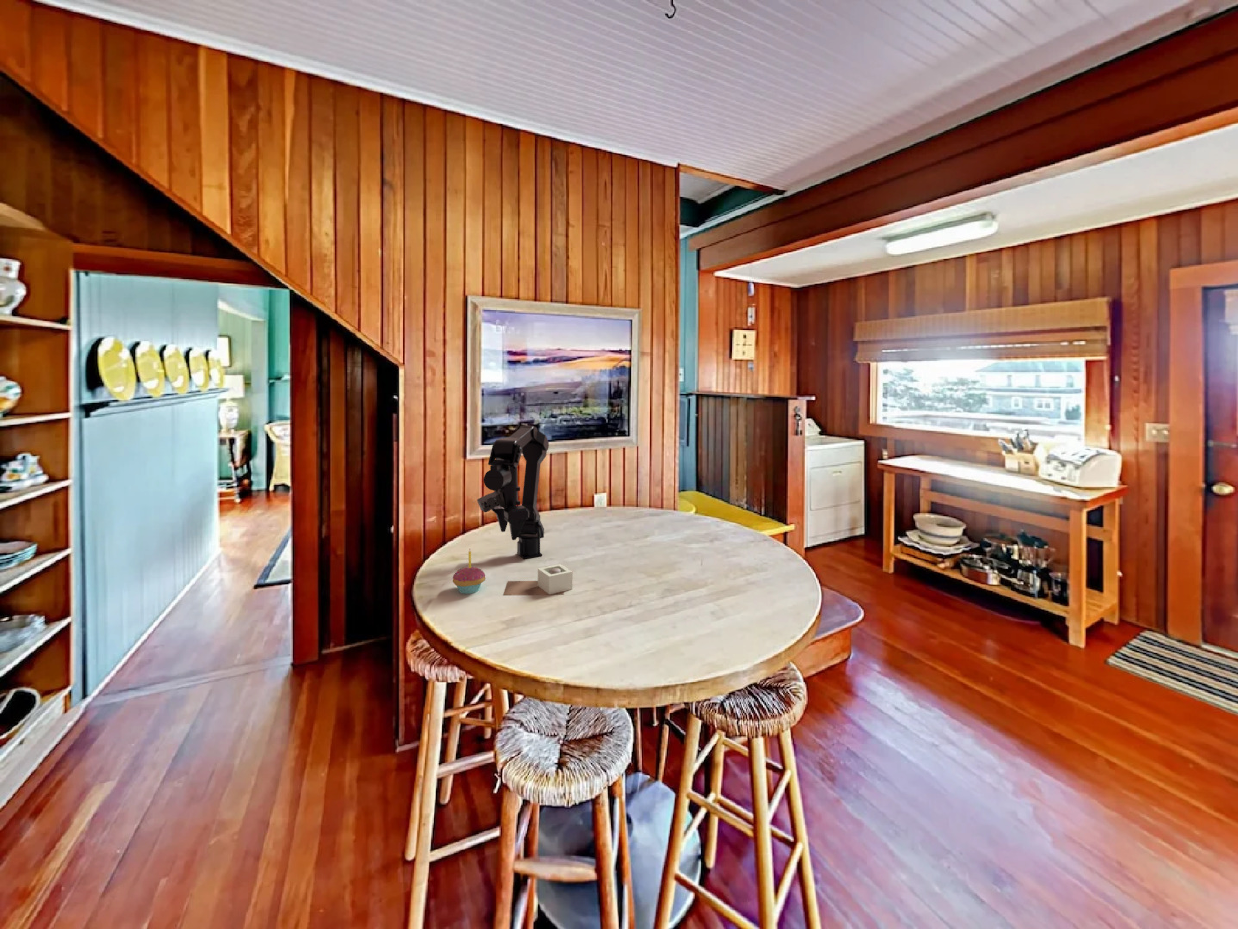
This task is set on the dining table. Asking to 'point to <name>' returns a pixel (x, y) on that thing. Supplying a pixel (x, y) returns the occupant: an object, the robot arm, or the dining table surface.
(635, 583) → the dining table surface
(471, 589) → the cupcake
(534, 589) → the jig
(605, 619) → the dining table surface
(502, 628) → the dining table surface
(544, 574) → the square hollow sleeve
